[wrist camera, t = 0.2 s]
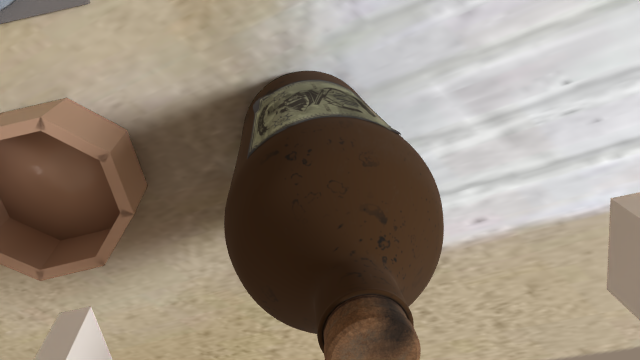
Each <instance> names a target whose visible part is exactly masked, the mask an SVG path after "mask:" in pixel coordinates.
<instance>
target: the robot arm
mask: <svg viewBox="0 0 640 360" xmlns="http://www.w3.org/2000/svg"><path fill="white" fill-rule="evenodd" d="M607 290H608V291H609V292H610V293H611V294H612V295H613V296H614V297H615V298H617V299H618V300H619V301H620V302H621V303H622V304H623V305H624V306H625V307H626V308H627V309H628V310H629V311H630V312H631V313H632V314H634V315H635V316H636V317H637V318H638V319H639V320H640V192H639V193H635V194H630V195H625V196H620V197H615V198H611V204H610V227H609V250H608V273H607ZM34 360H113V359H112V357H111V354H110V352H109V350H108V347H107V345H106V342H105V340H104V337H103V335H102V332H101V330H100V327H99V325H98V322H97V320H96V318H95V315H94V313H93V310H92V308H91V306H90V307H85V308H80V309H75V310H71V311H66V312H61V313H59V314H58V316H57V318H56V320H55V322H54V324H53V325H52V327H51V329H50V331H49V333H48V334H47V336H46V338H45V340H44V342H43V344H42V345H41V347H40V349H39V351H38V353H37V354H36V356H35V358H34Z"/></svg>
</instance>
